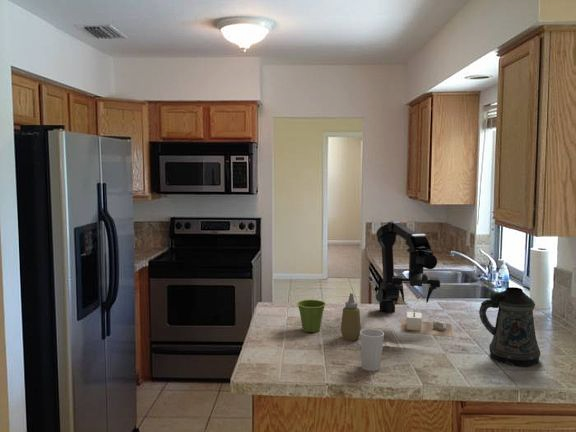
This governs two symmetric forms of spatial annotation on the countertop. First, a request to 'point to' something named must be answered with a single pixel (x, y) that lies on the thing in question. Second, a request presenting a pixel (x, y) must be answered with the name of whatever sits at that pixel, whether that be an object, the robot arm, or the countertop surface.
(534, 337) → the beer stein
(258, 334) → the countertop surface
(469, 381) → the countertop surface
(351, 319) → the squeeze bottle
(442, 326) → the white wooden block
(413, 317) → the white slotted box
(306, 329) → the plant pot
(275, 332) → the countertop surface
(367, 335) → the cup
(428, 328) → the base board
